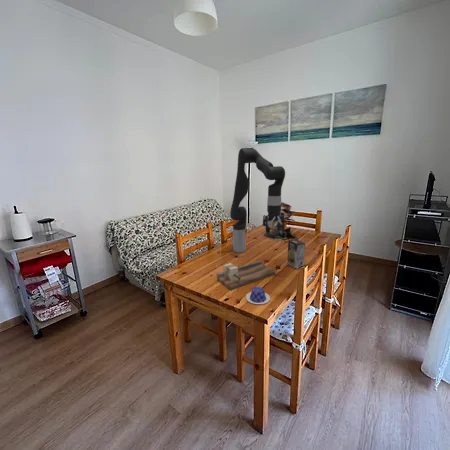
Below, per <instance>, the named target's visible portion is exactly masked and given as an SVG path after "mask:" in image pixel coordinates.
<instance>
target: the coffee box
mask: <svg viewBox="0 0 450 450" xmlns="http://www.w3.org/2000/svg"><path fill="white" fill-rule="evenodd" d="M287 240H288V241H287V243H288V244H287V245H288V246H287V262H286V263H287V264H288V265H290V266H291V267H292V268H294V269H295V268H296V269H300V268H299V267H301V266H303V267H304V264H305V263H304V262H305V252H306V251H305V248H306V243H305V242H304V241H301V240H299V239H287ZM301 268H302V267H301Z"/></svg>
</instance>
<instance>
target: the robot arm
mask: <svg viewBox="0 0 450 450" xmlns="http://www.w3.org/2000/svg"><path fill="white" fill-rule="evenodd" d="M252 163H253V164H255V166H256V168H257V170H258V171H260V172H261V173H262V174H263V175H264V177H265V179H267V180H268V181H274V182H273V183H272V184H269V185H268V187H267V193H268V194H267V198H266V199H267V201H266V202H267V207H266V210H267V211H266V212H267V215H266V214H265V215H263V216H262V217H263V218H262V226H264V227H265V232H266V233H268V234H269V233H271V230H270V225H271V224H272V223H273V222H275V221H276V222H277V223H278V224H277V230H279V231H280V230H281V224H282V223H284V213H283V212H281V202H282V188H283V183H284V181H285V178H286V171H285V170H286V169H285V167H283V166H281V165H279V166H278V165H277V166H274V164H273V163H272V162H270V161H269V160H267V159H266V158H264V157H263V156H262V154H260V152H258V150H257V149H255V148H254V147H242V148H240V149H239V151H238V156H237V171H236V177H235V184H234V191H233V200H232V203H231V207H230V212H229V213H230V219H231V220H233V221H237V222H235V223H233V225H232V250H233V252H234V253H244V252H246V250H247V249H246V243H247V241H246V237H247V236H246V234H247V231H246V226H247V209H246V207H245V206H240V204H241V203H242V201H243V200H244V199H245V197H246V196H247V195H248V192H249V188H250V181H249V180H250V179H249V178H248V176H247V173H246V171H245V169H246V168H245V166H246V164H252ZM279 217H280V218H279ZM269 220H270V221H269ZM268 223H269V224H268ZM284 224H285V223H284ZM277 230H276V231H277Z"/></svg>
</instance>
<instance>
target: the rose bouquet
mask: <svg viewBox="0 0 450 450" xmlns="http://www.w3.org/2000/svg"><path fill="white" fill-rule="evenodd" d="M291 209H292V206H291V205H290V204H287V203H285V201H284V202H283V201H281V212H283V213H284V223H282V224H281V230H280V231H279V230H277V224H278V223H277V222H276V221H275V222H273V223H272V224H271V225H270V233H269V234H268V233H266V231H265V232H264V234H263V236H264V237H266V238H271V239H273V240H278V241H283V240H290V238H289V237H287V236H291V237H294V239H297V240H299V237H298V236H296V235H295V234H292V231H291V229H292V227H291V226H290V227H287V228H286V227H285V223H287V222H289V221H292V222H296V220H295V219H293V218H292V217H293V216H292V215H293V214H294V213H296V211H292V210H291ZM279 218H280V217H279ZM269 221H270V220H269ZM268 224H269V223H268ZM271 230H273V231H272V232H271ZM276 231H277V232H276Z"/></svg>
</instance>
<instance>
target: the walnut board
mask: <svg viewBox="0 0 450 450" xmlns="http://www.w3.org/2000/svg"><path fill="white" fill-rule="evenodd" d="M237 267H238V266H237ZM276 273H277V272H276V270H274V269H272V268H271V267H269V266H267V265H265V264H263V261H262V260H258V261H254V262H250V263H247V264H245V265H240V266H239V267H238V276H239V277H240V278H241V279H240V280H239V281H238V279H236V280H233V281H230V280H229V279H228V278H226V277H225V276H224V271H222V272H218V273H217V274H216V278H217V279H216V280H217V281H218V282H219V283H220V284H222V285H223V286H225V287H226V288H227V289H228V290H230V291H232V290H236V289H238V288H241V287H243V286H246V285H250V284H251V283H255V282H258V281H261V280H263V279H266V278H269V277H271V276H275V275H276Z"/></svg>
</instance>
